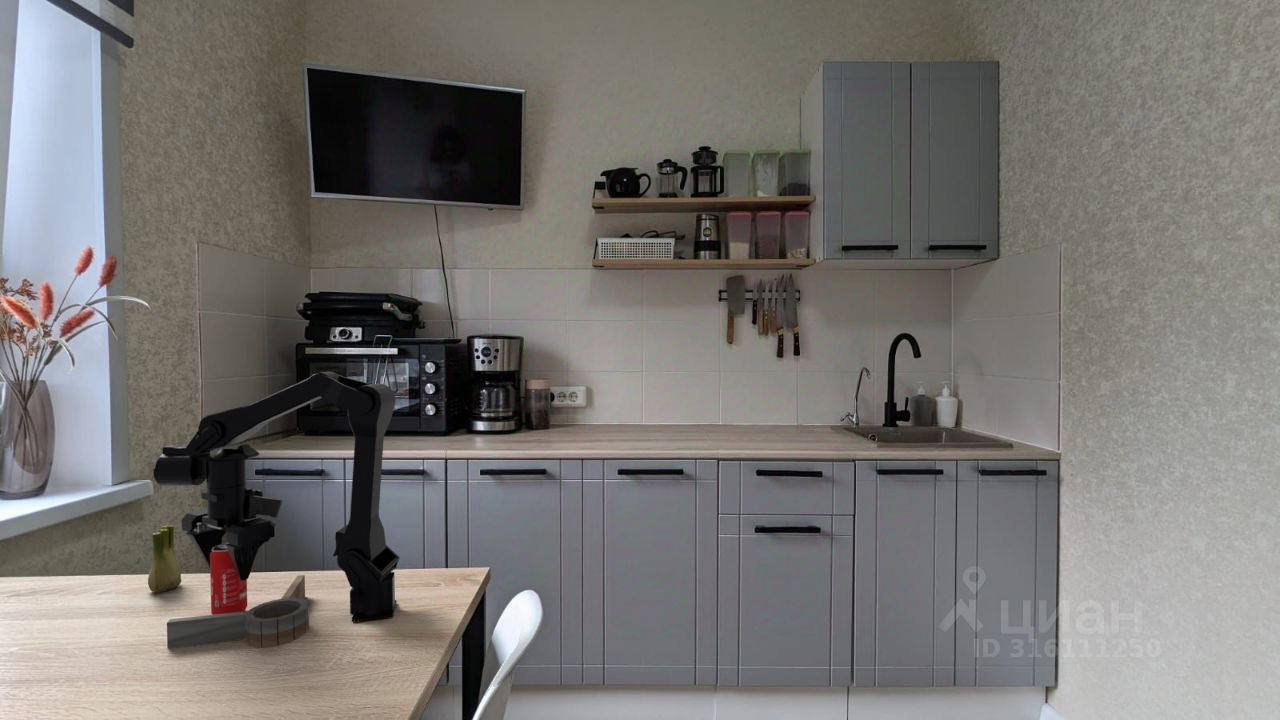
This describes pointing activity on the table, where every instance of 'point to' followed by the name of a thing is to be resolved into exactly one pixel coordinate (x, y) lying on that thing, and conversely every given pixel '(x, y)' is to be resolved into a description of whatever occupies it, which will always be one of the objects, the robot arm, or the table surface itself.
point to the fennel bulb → (164, 562)
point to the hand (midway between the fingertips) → (229, 574)
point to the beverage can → (225, 583)
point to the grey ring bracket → (247, 623)
